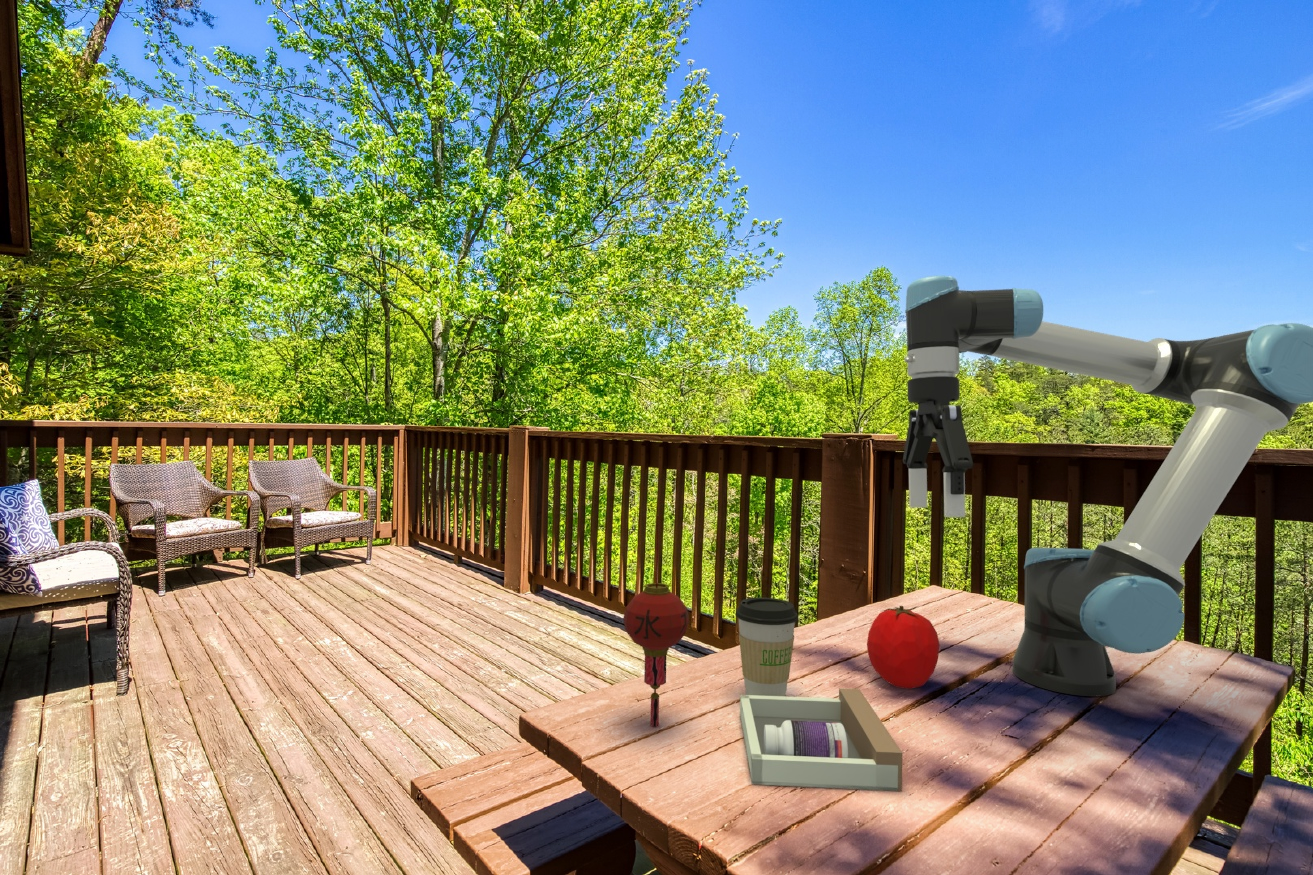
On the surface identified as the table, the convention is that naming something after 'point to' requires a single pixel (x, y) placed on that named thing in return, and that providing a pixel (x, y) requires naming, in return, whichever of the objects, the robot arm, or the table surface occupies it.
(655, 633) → the lantern
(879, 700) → the table surface
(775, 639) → the coffee cup
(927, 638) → the tomato
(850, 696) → the tray
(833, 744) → the pill bottle
